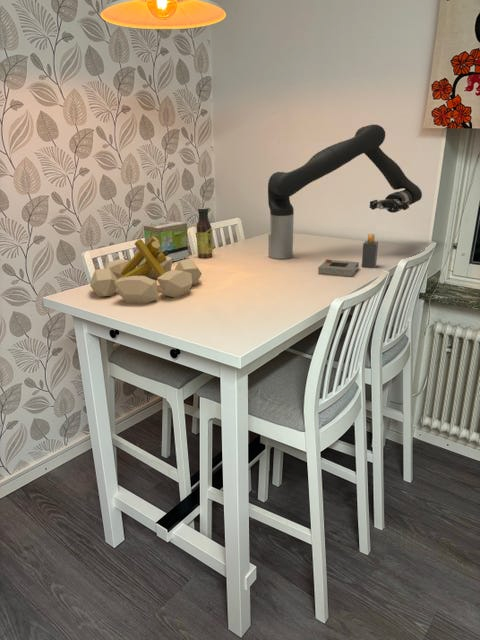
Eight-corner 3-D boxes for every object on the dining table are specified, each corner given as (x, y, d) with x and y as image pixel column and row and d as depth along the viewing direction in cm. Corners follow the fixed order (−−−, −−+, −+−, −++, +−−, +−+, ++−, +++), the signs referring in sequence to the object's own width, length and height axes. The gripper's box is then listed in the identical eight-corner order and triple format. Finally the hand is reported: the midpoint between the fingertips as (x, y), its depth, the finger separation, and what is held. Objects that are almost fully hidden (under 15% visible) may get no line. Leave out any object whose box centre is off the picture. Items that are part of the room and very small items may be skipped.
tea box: (163, 265, 191) (160, 227, 186) (145, 262, 197) (142, 225, 192) (189, 258, 202) (187, 222, 197) (172, 255, 208) (169, 220, 203)
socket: (318, 274, 175) (318, 265, 174) (326, 266, 185) (326, 258, 184) (351, 277, 170) (352, 268, 169) (358, 268, 181) (358, 260, 180)
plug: (361, 267, 183) (363, 235, 178) (363, 264, 187) (366, 232, 182) (374, 268, 181) (376, 236, 177) (376, 265, 185) (378, 233, 181)
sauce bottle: (212, 258, 200) (210, 209, 193) (196, 258, 201) (194, 209, 194) (213, 254, 207) (211, 206, 200) (198, 255, 207) (196, 207, 200)
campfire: (219, 282, 168) (217, 233, 162) (153, 312, 141) (148, 254, 135) (143, 270, 186) (139, 225, 180) (71, 294, 159) (64, 242, 153)
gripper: (380, 191, 200) (365, 196, 187) (415, 192, 192) (403, 198, 180) (378, 210, 203) (364, 216, 190) (413, 212, 195) (401, 218, 183)
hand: (383, 207), depth 185 cm, fingers open, 8 cm apart
